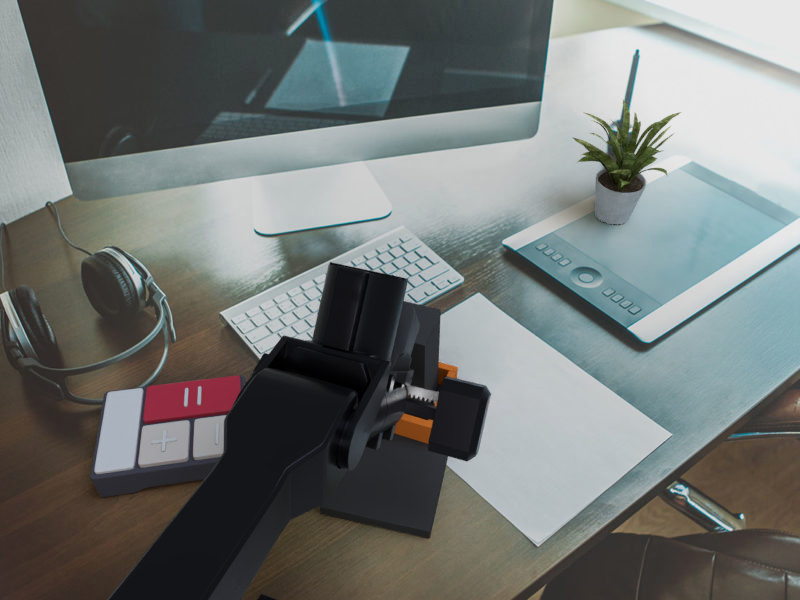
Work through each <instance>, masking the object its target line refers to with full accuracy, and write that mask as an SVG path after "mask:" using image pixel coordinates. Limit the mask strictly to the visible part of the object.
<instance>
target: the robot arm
mask: <svg viewBox="0 0 800 600" xmlns="http://www.w3.org/2000/svg"><path fill="white" fill-rule="evenodd" d="M408 282H409V279H408V278H406V277H402V276H398V275H392V274H388V273H383V272H378V271H373V270H369V269H365V268H359V267H356V266H355V267H354V266H351V265H345V264H341V263H336V262H332V261H330V262H329V264H328V266H327V270H326V274H325V279H324V282H323V283H324V284H323V287H322V292H321V298H320V302H319V307H318V311H317V315H316V320H315V325H314V329H313V334H312V338H311V339H307V340H304V339H300V338H296V337H293V336H288V335H285V334H284V335H282V336H281V338H280V339H279V340H278V341H277V343H276V344H275V345H274V346H273V348H271V350H270V352H268V353H266V352H263V353H262V356H261V357H260V359H259V361H258V362H257V364H256V366H254V369H253V370H252V372H251V373H250V375H249V377H248V378H247V379H246V383H245V385H244V387H243V388H242V390H241V391H240V393H239V394H238V396H237V398H236V400H235V402H234V404H233V407H232V408H231V410H230V411H229V413H228V414H227V415H226V417H225V419H224V451H223V454H222V456H221V457H220V459H219V460H218V462H217V463H216V465H215V466H214V468H213V469H212V470H211V472H210V473H209V474H208V476H207V477H206V478H205V479H203V481H202V482H201V483H200V484H199V486H198V487H197V488H196V489H195V490H194V491H193V493H192V494H191V495H190V497H189V498H188V499H187V500H186V502H184V504H183V505H182V506H181V508H180V509H179V510H178V511H177V513H175V515H174V516H173V517H172V519H171V520H170V521H169V522H168V524H167V525H166V526H165V527H164V529H162V531H161V532H160V534H159V535H158V536H157V537H156V538H155V539H154V541H153V542H152V543H151V544H150V546H149V547H148V548H147V550H146V551H145V552H144V553H143V554H142V556H141V557H140V558H139V559H138V560H137V562H136V563H135V564H134V566H133V567H132V568H131V569H130V570H129V572H128V573H127V574H126V575H125V577H123V579H122V580H121V582H119V584H118V586H117V587H116V588H115V589H114V590H113V592H112V593H110V595H109V597H107V599H106V600H242V598H243V597H244V595H245V594H246V592H247V590H248V588H249V587H250V585H251V584H252V582H253V580H254V579H255V577H256V575H257V574H258V572H259V570H260V569H261V567H262V566H263V564H264V562H265V561H266V559H267V557H268V556H269V554H270V553H271V551H272V549H273V547H274V546H275V544H276V543H277V542H278V539H279V538H280V536H281V535H282V533H283V532H284V531H285V529H286V527H287V526H288V525H289V523H290V522H291V521H292V520H293V519H295V518H298V517H301V516H302V515H304V514H307V513H309V512H310V511H313V510H315V509H318V508H319V506H322V505H323V504H325V503H326V502H327V500H328V499H329V497H330V496H331V494H332V493H333V491H334V490H335V489H336V488H337V487H338V485H339V483H340V481H341V480H342V478H343V477H344V475H345V473H346V472H347V470H350V471H351V470H354V468H355V467H356V466H357V464H358V462H359V461H360V458H361V456H362V454H363V451H364V448H365V447H368V448H371V449H375V450H377V449H378V448H380V444H381V439H385V440H388V441H390V440H392V439H393V436H394V431H395V427H396V423H397V422H398V421H399V420H400V419H401V418H402V416H403V414H404V413H407V414H411V415H415V416H418V417H422V418H426V419H430V420H433V423H432V428H431V432H430V437H429V441H428V451H431V452H435V453H438V454H442V455H446V456H448V458H453V459H456V460H460V461H464V462H469V461H471V460H472V459H474V458H475V457H477V455H478V454H479V450H480V447H481V443H482V437H483V433H484V428H485V424H486V419H487V416H488V415H487V414H488V410H489V406H490V401H491V396H492V393H491V391H490V389H489V388H488V386H487V385H484V384H481V383H476V382H473V381H468V380H465V379H461V378H458V377H457V378H451V377H447V376H445V378H444V380H443V383H442V385H441V388H440V391H439V392H437V391H433V390H429V389H425V388H421V387H417V386H414V385H411V381H412V377H413V372H414V370H412V369H409V368H410V364H411V357H410V356H411V353H412V349H413V346H414V343H415V339H416V336H417V333H418V331H419V327H420V323H419V320H418V317H417V315H416V312H415V309H414V307H413V306H412V305H411V304H410V303H411V302H410V303H408V302H409V301H406V302H404V301H405V296H406V292H407V287H408ZM410 394H411V398H413V397H414V395H415V399H417V398H418V397H420V400H422V399H423V397H424V401H427V399H429V402H431V401H432V400H433V403H434V404H435V403H436V401H437V405H436V406H434V405H431V404H427V403H423V402H419V401H415V400H411V399H407V397H408V396H409V395H410ZM256 600H279V599H278V598H274V597H272V596H269V595H266V594H263V593H260V594H259V596H258V598H257V599H256Z"/></svg>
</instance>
